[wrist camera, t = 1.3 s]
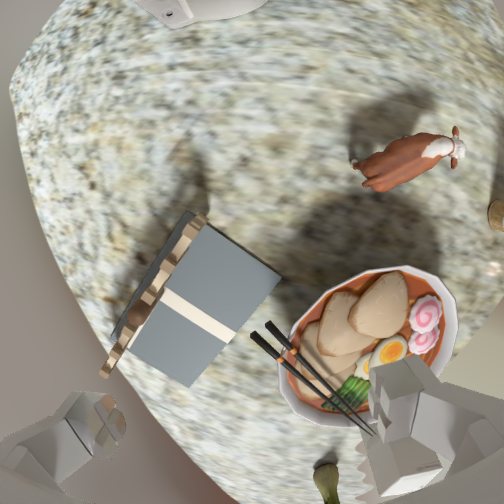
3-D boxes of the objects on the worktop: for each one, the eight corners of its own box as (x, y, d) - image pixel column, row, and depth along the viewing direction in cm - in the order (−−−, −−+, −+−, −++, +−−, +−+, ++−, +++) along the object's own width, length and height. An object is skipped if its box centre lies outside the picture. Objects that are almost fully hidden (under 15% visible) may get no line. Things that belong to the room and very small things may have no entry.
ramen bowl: (450, 333, 37) (478, 361, 29) (332, 417, 41) (343, 455, 33) (382, 198, 31) (417, 209, 24) (228, 316, 35) (222, 355, 27)
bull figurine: (439, 160, 30) (480, 161, 22) (349, 194, 31) (379, 202, 24) (428, 126, 29) (468, 120, 21) (336, 157, 30) (362, 154, 22)
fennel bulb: (323, 476, 46) (332, 521, 35) (305, 472, 45) (312, 520, 34) (342, 462, 45) (354, 509, 33) (324, 458, 44) (335, 508, 33)
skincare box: (410, 402, 40) (446, 466, 25) (394, 427, 42) (422, 489, 27) (371, 403, 40) (403, 476, 25) (355, 429, 42) (379, 499, 27)
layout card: (111, 337, 36) (110, 338, 36) (187, 210, 32) (186, 210, 31) (189, 386, 38) (188, 388, 38) (281, 276, 34) (282, 277, 34)
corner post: (146, 289, 34) (124, 318, 27) (154, 277, 34) (132, 304, 27) (160, 298, 35) (140, 329, 27) (168, 286, 34) (148, 315, 27)
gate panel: (167, 281, 33) (150, 305, 27) (159, 275, 33) (140, 298, 27) (209, 219, 31) (198, 231, 25) (200, 212, 31) (187, 223, 25)
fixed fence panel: (125, 349, 37) (106, 379, 30) (118, 344, 36) (98, 373, 30) (153, 303, 35) (133, 332, 28) (145, 298, 34) (124, 325, 28)
